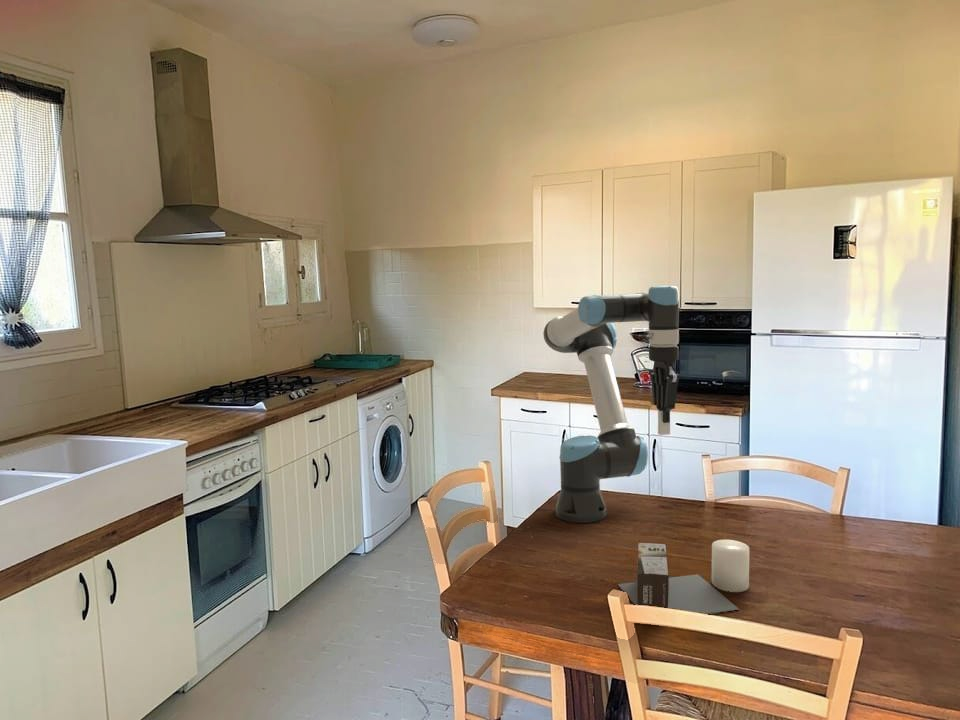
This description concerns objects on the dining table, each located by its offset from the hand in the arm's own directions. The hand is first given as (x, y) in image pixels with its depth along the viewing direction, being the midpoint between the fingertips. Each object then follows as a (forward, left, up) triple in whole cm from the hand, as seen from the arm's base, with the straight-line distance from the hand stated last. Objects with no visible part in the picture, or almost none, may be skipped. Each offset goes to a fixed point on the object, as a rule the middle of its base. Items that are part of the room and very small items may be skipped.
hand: (664, 433), depth 172 cm
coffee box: (+21, -14, -25) cm, 35 cm away
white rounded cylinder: (+27, +3, -30) cm, 40 cm away
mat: (+30, -12, -29) cm, 44 cm away
